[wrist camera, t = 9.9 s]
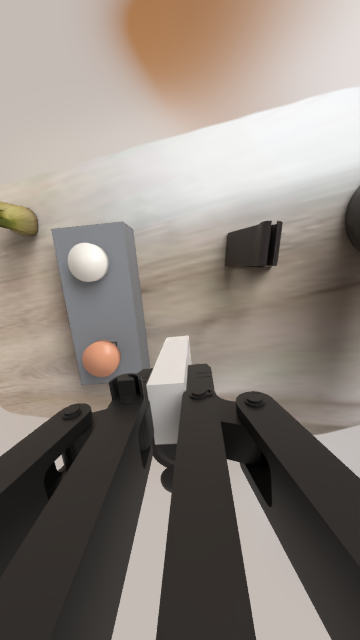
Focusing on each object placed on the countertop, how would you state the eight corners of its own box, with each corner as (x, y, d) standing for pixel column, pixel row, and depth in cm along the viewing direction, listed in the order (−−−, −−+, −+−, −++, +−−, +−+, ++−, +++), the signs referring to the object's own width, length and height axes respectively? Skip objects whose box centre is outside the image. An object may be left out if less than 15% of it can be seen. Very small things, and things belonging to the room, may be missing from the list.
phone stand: (224, 265, 45) (237, 263, 33) (227, 233, 43) (242, 219, 32) (271, 267, 44) (301, 266, 33) (275, 235, 43) (308, 222, 31)
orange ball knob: (128, 329, 46) (114, 342, 37) (132, 357, 47) (120, 375, 39) (98, 331, 46) (79, 344, 38) (103, 359, 47) (85, 378, 39)
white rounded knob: (118, 246, 43) (101, 240, 35) (122, 278, 45) (107, 280, 36) (87, 249, 44) (64, 244, 35) (92, 281, 45) (71, 283, 37)
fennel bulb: (46, 236, 44) (-5, 223, 33) (22, 241, 45) (-36, 231, 33) (36, 204, 43) (-21, 180, 32) (12, 210, 44) (-53, 188, 32)
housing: (132, 229, 44) (122, 221, 37) (150, 365, 49) (143, 380, 43) (72, 235, 44) (51, 229, 37) (96, 369, 50) (81, 384, 43)
